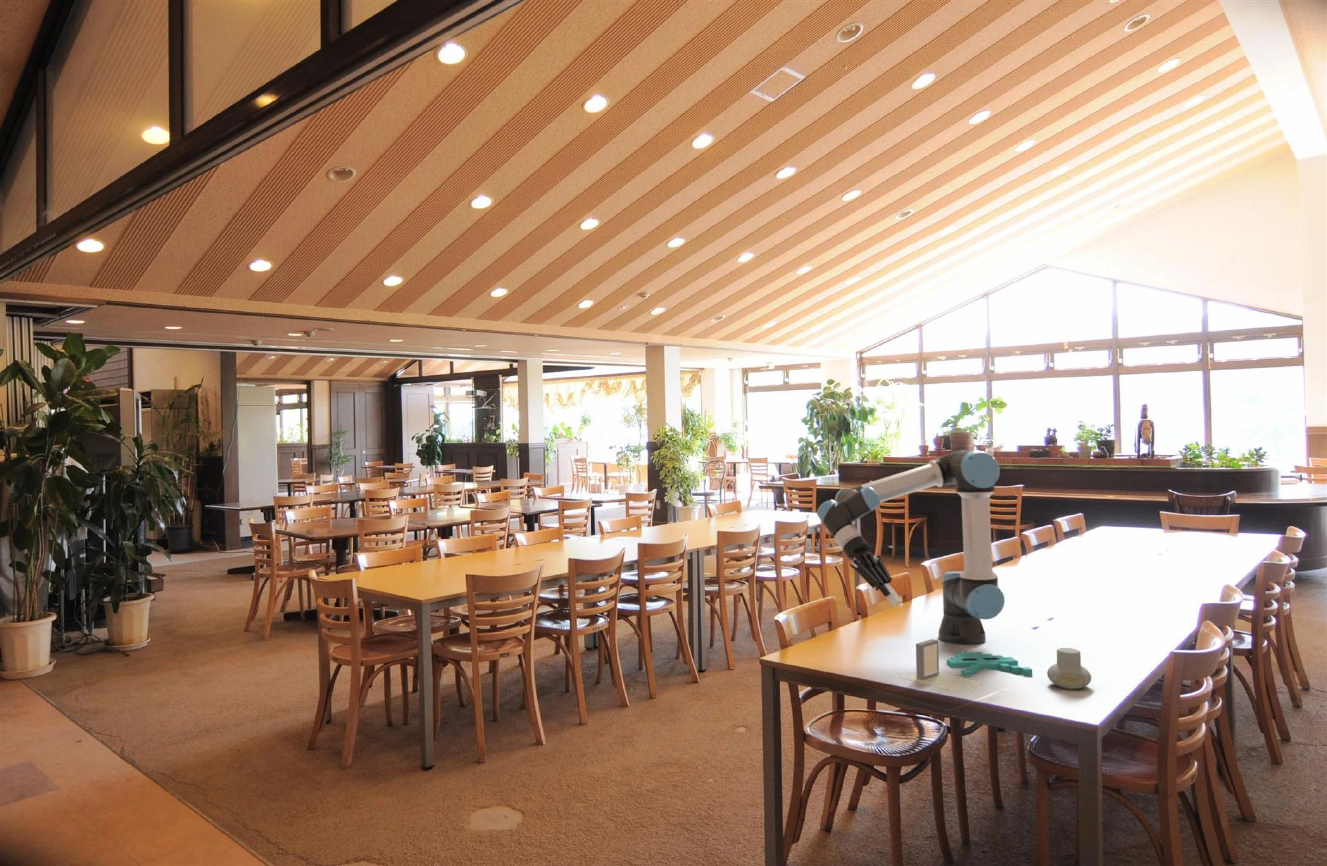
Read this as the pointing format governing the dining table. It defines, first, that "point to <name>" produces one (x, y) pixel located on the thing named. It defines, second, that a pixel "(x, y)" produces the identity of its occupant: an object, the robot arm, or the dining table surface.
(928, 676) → the slate tile
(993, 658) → the alien figure
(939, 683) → the felt mat
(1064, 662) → the air freshener
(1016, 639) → the dining table surface
